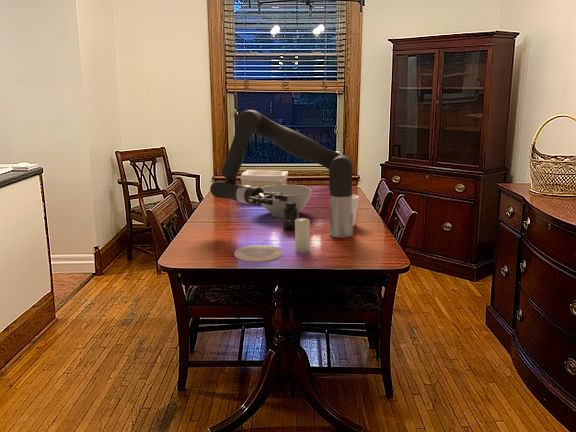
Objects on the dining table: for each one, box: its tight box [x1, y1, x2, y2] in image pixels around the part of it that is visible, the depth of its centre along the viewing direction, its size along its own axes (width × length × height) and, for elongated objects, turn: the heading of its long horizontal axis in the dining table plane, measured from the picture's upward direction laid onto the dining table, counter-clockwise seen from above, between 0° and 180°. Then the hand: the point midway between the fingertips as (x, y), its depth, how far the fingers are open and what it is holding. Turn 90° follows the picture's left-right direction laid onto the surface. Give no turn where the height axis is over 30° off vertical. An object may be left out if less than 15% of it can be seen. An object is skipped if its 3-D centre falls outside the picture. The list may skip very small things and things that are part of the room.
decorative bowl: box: [260, 184, 313, 218], centre depth 267 cm, size 27×27×12 cm
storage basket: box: [240, 169, 289, 187], centre depth 301 cm, size 24×16×15 cm
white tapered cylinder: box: [294, 217, 311, 253], centre depth 211 cm, size 6×6×12 cm
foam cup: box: [352, 194, 360, 227], centre depth 246 cm, size 10×9×13 cm
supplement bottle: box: [282, 201, 300, 232], centre depth 241 cm, size 7×7×12 cm
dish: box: [233, 244, 283, 263], centre depth 208 cm, size 18×18×1 cm
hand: (279, 200), depth 215 cm, fingers open, 8 cm apart
